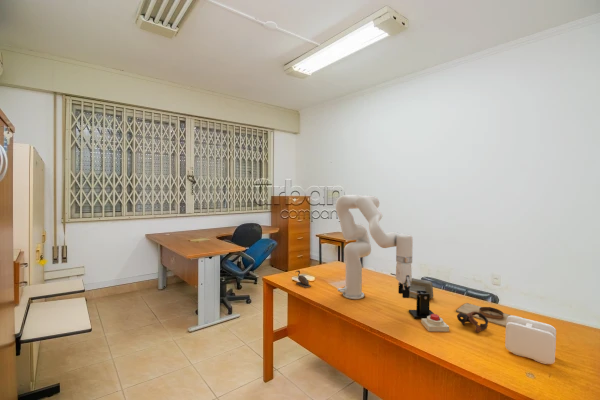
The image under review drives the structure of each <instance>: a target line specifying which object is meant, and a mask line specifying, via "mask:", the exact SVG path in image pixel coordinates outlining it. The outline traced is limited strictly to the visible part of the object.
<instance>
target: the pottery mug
mask: <svg viewBox="0 0 600 400" xmlns="http://www.w3.org/2000/svg"><path fill="white" fill-rule="evenodd" d="M476 314H477V315H479V317H480V318H483V319H484V320H485V321H484V320H483V321H484V323H480V324H479V321H477V320H476V318H475V317H473V315H476ZM456 319H457V320H458V322H460V323H461V325H463V326H465V324H466V323H469V324H472V325H474V327H475V329H474V332H475V333H477V334H478V333H480V332H483V331H485V330H487V329H488V326H489V322H488V320H487V318H486V317H485V316H484V315H483V314H481V313H479V312H475V311H474V312H471V313H467V314H463V313H457V315H456Z"/></svg>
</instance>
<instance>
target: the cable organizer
mask: <svg viewBox="0 0 600 400" xmlns="http://www.w3.org/2000/svg"><path fill="white" fill-rule="evenodd" d="M510 315H511V316H508V318H507V325H506V327H505V339H504V341H505V342H504V343H505V345H504V346H505V349H506V350H507V351H508V352H510V353H512V354H513V355H516V356H518V357H522V358H528V359H531V360H534V361H535V362H538V363H541V364H543V365H553V364H555V362H556V350H557V349H556V348H557V329H556V328H555V327H554V326H553V325H551V324H549V323H546V322H541V321H537V320H535V319H534V320H533V319H529V318H525V317H521V316H518V315H514V314H513V315H512V314H510Z"/></svg>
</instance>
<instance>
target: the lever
mask: <svg viewBox="0 0 600 400" xmlns="http://www.w3.org/2000/svg"><path fill="white" fill-rule="evenodd" d="M401 290H402V291H403V287H401ZM409 293H412V294H415V295H418V296H419V297H420V293H422V292H420V293H417V292H413V291H410V292H409Z"/></svg>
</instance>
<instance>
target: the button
mask: <svg viewBox="0 0 600 400" xmlns="http://www.w3.org/2000/svg"><path fill="white" fill-rule="evenodd" d="M439 317H440V315H439V314H437V313H434V314H431V319H432V320H435V321H439Z"/></svg>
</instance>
